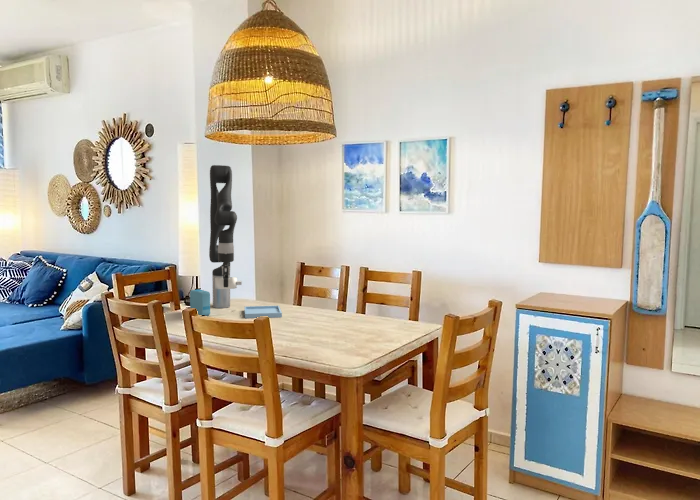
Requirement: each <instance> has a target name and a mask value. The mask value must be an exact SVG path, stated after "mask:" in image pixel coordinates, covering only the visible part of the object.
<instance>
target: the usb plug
mask: <svg viewBox="0 0 700 500" xmlns="http://www.w3.org/2000/svg"><path fill="white" fill-rule="evenodd" d="M242 283H243V281H242V280H238V278H237V277H236V276H234V277H233V276H230V277H229V279H228V287H224V280H223V277H217V278H215V288H216V289H230V290H232V289H233V290H234V289H235V290H236V289H237V288H238V286H242Z"/></svg>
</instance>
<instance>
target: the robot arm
mask: <svg viewBox="0 0 700 500" xmlns="http://www.w3.org/2000/svg"><path fill="white" fill-rule="evenodd" d="M217 184H224V186H223V187H222V188H221V189H220V191H219V190H218V187H217ZM232 185H233V171H232V167H231V166H229V165H222V164H221V165H219V164H216V165H215V164H212V165H210V168H209V186H210V211H209V212H210V214H209V215H210V216H209V218H210V219H209V222H210V223H209V224H210V226H209V227H210V235H209V236H210V237H209V249H208V250H209V252H208V253H209V260H210V262H211V263H222V264H221V265H220V266H218V267H216V268H214V269H212V270H211V271H212V273H211V274H212V277H211V278H212V307H213V308H215V309H224V308H229V307H231V289H216V288H215V278H217V277H223V280H224V287H228V279H229V277H231V263H232V262H234V261H235V259H234V258H235V254H234V253H235V249H234V248H235V245H234V233H235V228H236V223H237V221H238V220H237V219H238V215H237V213H236V212H235V211H233V210H232V209H233V203H232V190H233V189H232V187H233V186H232ZM226 226H229V227H228V228H227V229H225V227H226Z"/></svg>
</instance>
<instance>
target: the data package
mask: <svg viewBox="0 0 700 500" xmlns="http://www.w3.org/2000/svg"><path fill="white" fill-rule="evenodd" d="M190 308H196V309H197V311H198V314H199V315H205V316H204V317H207V316H210V315H211V293H210V291H207V290H204V289H200V288H199V289H191V290H190V292H189V309H190Z"/></svg>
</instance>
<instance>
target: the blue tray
mask: <svg viewBox="0 0 700 500" xmlns="http://www.w3.org/2000/svg"><path fill="white" fill-rule="evenodd" d="M243 311H244V318H245V319H257V318H256V317H260V316H268V317H270V318H269V319H271V318H283V312H282V310H281V307H280V305H253V306H252V305H250V306H249V305H248V306H247V305H246V306H244V310H243Z"/></svg>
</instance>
